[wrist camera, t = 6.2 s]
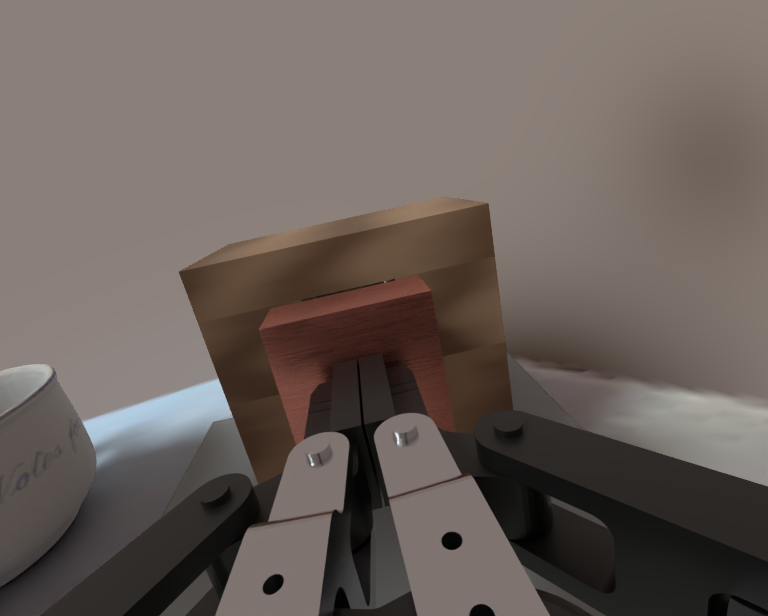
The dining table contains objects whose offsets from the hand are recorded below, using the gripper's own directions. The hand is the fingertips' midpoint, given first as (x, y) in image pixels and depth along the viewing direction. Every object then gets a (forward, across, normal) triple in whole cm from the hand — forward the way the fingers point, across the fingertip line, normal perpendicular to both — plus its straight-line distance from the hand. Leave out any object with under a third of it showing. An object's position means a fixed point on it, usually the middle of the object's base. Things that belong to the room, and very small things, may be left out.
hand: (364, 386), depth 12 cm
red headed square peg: (+5, 0, +2) cm, 5 cm away
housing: (+8, 0, +8) cm, 11 cm away
